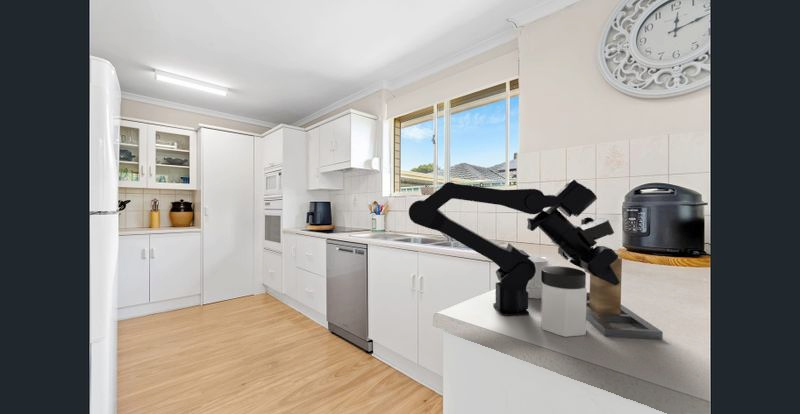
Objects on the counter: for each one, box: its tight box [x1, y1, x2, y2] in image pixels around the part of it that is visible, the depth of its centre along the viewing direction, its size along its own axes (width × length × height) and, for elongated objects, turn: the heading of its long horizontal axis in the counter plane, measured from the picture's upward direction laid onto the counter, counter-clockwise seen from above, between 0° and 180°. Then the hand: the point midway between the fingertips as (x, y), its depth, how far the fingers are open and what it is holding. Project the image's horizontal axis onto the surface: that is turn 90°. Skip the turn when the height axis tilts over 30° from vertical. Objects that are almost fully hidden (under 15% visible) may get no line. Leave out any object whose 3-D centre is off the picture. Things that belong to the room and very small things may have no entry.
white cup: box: [526, 255, 549, 299], centre depth 86 cm, size 8×8×10 cm
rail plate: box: [586, 292, 664, 341], centre depth 72 cm, size 10×23×2 cm, turn 171°
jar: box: [540, 265, 588, 338], centre depth 65 cm, size 9×8×12 cm
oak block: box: [588, 256, 623, 314], centre depth 72 cm, size 4×4×13 cm
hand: (611, 280), depth 72 cm, fingers open, 5 cm apart
